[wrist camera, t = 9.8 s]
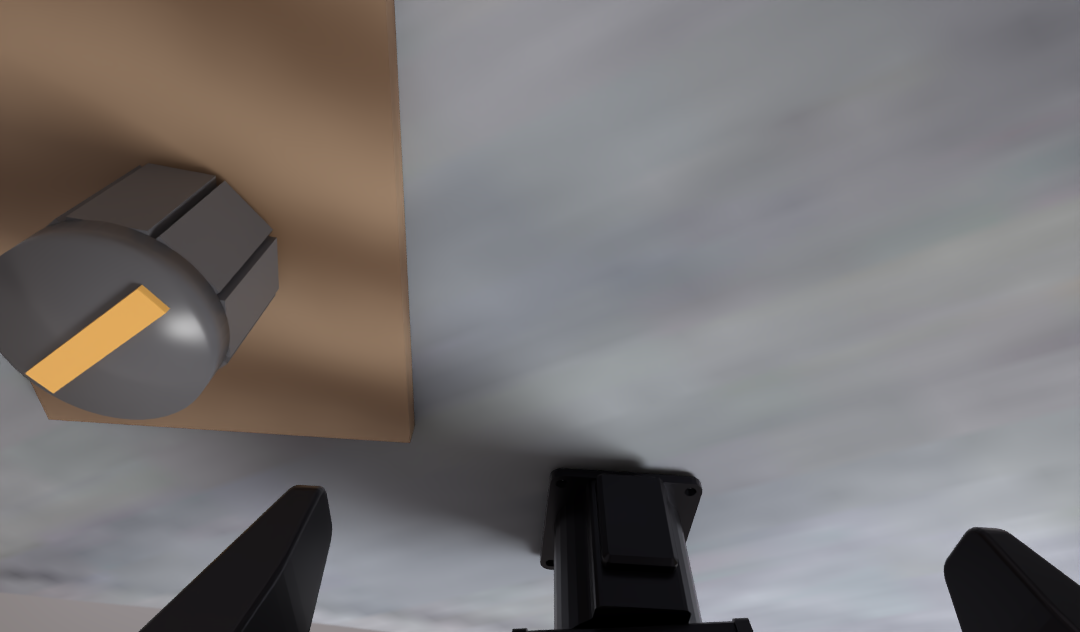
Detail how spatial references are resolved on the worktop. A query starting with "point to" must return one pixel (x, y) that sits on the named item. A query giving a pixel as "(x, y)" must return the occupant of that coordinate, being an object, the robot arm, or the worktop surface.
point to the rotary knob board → (236, 180)
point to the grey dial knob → (137, 293)
